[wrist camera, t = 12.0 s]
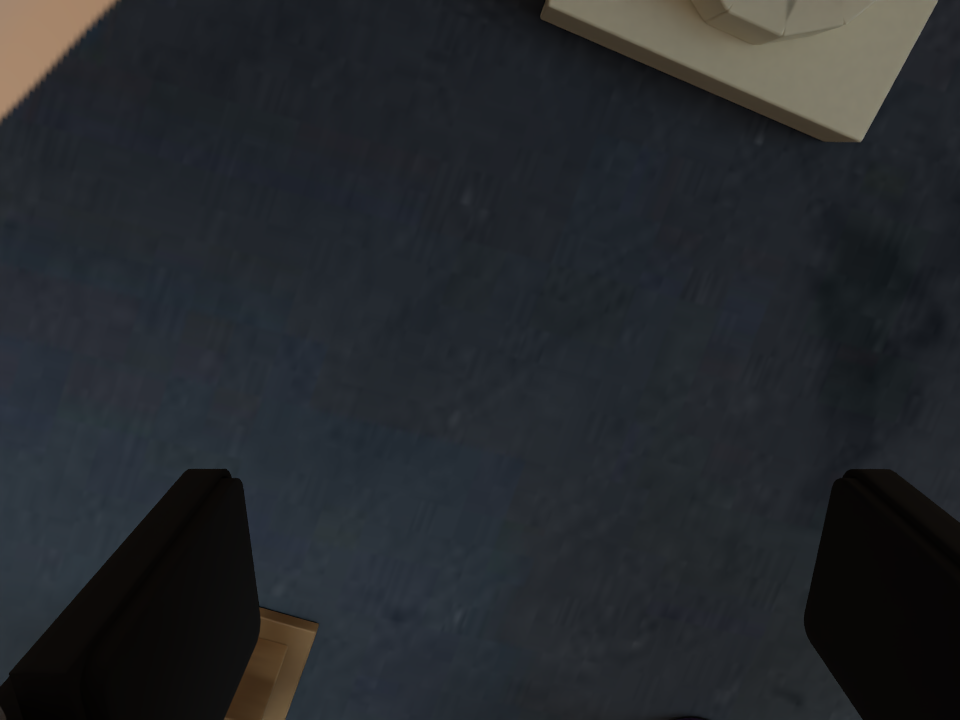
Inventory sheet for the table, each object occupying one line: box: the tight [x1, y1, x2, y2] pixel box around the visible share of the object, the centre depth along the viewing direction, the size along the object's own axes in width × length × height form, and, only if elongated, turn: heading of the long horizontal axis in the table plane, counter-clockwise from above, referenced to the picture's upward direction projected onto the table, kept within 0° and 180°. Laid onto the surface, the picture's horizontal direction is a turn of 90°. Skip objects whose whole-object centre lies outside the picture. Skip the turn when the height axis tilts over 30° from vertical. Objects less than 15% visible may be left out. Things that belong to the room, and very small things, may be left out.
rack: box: [224, 607, 319, 720], centre depth 27 cm, size 5×8×5 cm, turn 159°
